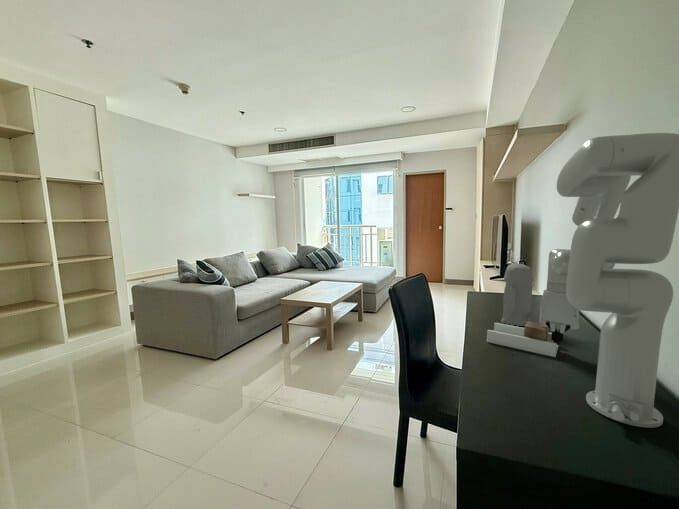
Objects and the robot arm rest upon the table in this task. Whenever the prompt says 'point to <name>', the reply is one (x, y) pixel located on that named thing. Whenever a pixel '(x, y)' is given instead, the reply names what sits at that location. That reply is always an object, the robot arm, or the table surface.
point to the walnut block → (536, 331)
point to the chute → (520, 340)
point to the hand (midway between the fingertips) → (556, 343)
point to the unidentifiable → (517, 294)
